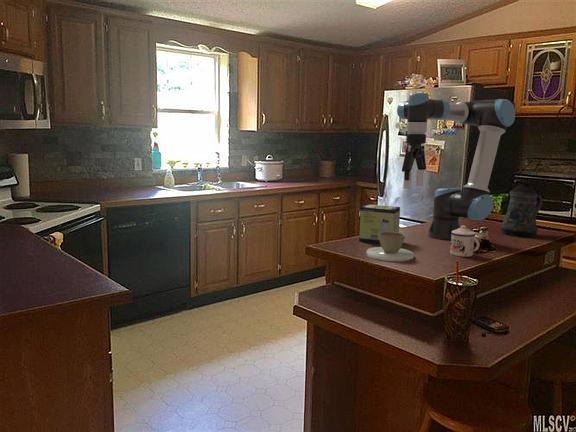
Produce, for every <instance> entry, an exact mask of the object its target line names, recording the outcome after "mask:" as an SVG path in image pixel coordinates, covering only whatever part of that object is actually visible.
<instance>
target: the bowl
mask: <svg viewBox="0 0 576 432" xmlns="http://www.w3.org/2000/svg"><path fill="white" fill-rule="evenodd" d="M405 237H406V234H404V233H401V232H399V233H397V232H380V233H379V240H380V243H381V244H380V247H382V248H383V250H384V252H386V253H397V252H398V251H399V249H400V248H401V249H402V245H403V244H404V241H405Z"/></svg>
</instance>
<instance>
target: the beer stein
mask: <svg viewBox="0 0 576 432" xmlns="http://www.w3.org/2000/svg"><path fill="white" fill-rule="evenodd" d="M509 196H510V199H509V203H508V207H507V210H506V213H505V215H504V219H503V221H502V223H501V225H500V230H501V234H502V233H503V234H502V235H505V234H506V235H505V236H508V235H511V236H510V237H514V236H518V237H517V238H535V237H537V234H538V231H539V229H538V227H537V217H536V216H537V215H538V213H539V212H540V210H541V208H542V205H543V198H542V195H541V193H539V188H537V187H535V186H532V185H531V183H528V182H527V183H522V182H521V183H519V184H518V186H516V187H514V188H513V189H511V190H510V191H509Z"/></svg>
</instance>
